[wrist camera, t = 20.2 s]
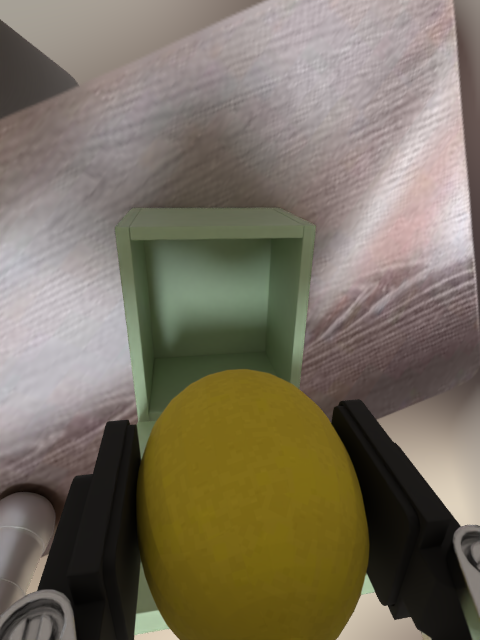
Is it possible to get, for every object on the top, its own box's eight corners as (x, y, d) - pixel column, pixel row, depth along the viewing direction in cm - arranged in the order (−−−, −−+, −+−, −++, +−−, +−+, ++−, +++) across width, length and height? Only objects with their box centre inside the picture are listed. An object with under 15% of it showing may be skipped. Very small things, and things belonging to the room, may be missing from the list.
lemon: (118, 421, 13) (45, 765, 6) (203, 296, 11) (253, 538, 4) (243, 471, 15) (310, 772, 8) (329, 369, 13) (511, 619, 6)
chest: (131, 207, 28) (114, 226, 21) (279, 207, 30) (316, 225, 22) (147, 361, 34) (138, 423, 26) (270, 353, 36) (297, 408, 28)
